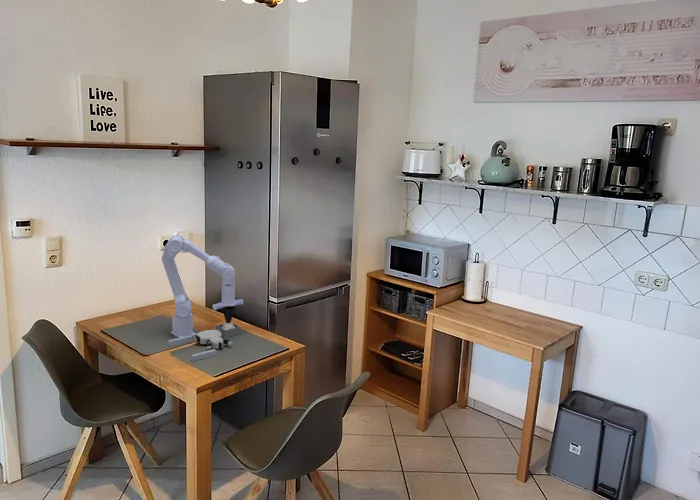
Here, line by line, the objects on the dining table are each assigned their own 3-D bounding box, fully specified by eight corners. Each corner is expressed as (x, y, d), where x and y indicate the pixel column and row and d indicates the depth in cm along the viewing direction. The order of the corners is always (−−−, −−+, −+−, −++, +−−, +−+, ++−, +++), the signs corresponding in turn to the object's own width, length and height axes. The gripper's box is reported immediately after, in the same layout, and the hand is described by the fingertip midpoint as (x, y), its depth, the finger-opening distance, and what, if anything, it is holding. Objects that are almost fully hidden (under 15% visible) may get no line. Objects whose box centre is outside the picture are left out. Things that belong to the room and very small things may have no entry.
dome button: (218, 331, 241) (218, 321, 240) (230, 329, 245) (230, 319, 244) (225, 335, 237) (225, 325, 236) (237, 332, 241) (237, 322, 240)
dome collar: (215, 332, 241) (215, 325, 240) (231, 329, 246) (231, 322, 246) (225, 337, 235) (225, 330, 235) (240, 333, 241) (240, 326, 240)
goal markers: (167, 344, 224) (167, 340, 224) (190, 339, 231) (190, 335, 231) (193, 361, 209) (193, 356, 209) (216, 355, 216) (216, 350, 215)
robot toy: (234, 349, 225) (217, 336, 236) (234, 339, 224) (217, 326, 235) (206, 355, 217) (191, 342, 228) (207, 345, 216) (191, 332, 227)
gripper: (218, 297, 229) (218, 327, 232) (247, 292, 239) (247, 321, 242) (210, 294, 234) (210, 323, 237) (238, 288, 244) (238, 317, 247)
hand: (228, 322), depth 240 cm, fingers closed, pressing on dome button
